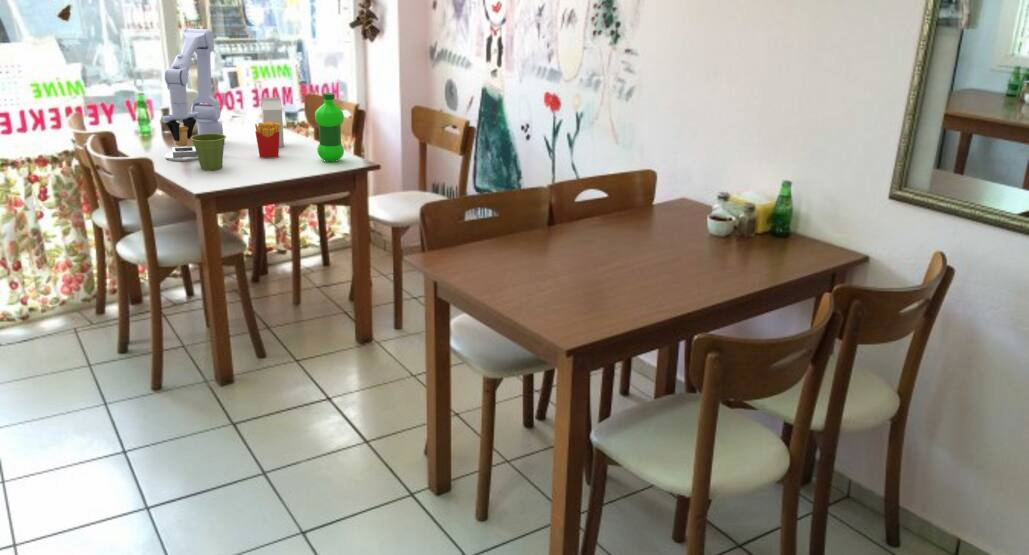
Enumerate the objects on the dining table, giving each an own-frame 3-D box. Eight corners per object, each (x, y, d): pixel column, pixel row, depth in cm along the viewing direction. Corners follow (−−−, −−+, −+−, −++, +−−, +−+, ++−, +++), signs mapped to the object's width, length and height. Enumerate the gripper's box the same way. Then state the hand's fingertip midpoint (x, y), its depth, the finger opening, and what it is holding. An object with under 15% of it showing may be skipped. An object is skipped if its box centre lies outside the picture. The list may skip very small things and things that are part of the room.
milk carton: (284, 147, 332) (281, 99, 325) (265, 147, 329) (262, 99, 322) (281, 143, 338) (279, 95, 331) (263, 143, 335) (260, 96, 328)
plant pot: (209, 162, 304) (206, 131, 300) (235, 166, 300) (233, 135, 296) (186, 169, 294) (182, 138, 290) (213, 174, 290) (210, 142, 286)
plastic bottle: (341, 156, 321) (339, 91, 312) (346, 163, 312) (344, 96, 303) (315, 157, 318) (312, 91, 309) (319, 164, 309) (316, 96, 300)
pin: (183, 142, 311) (183, 125, 308) (191, 145, 308) (191, 127, 306) (171, 143, 307) (171, 125, 305) (178, 146, 304) (178, 128, 302)
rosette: (219, 151, 320) (219, 142, 319) (223, 159, 309) (222, 150, 308) (165, 154, 313) (164, 145, 311) (166, 162, 302) (165, 153, 300)
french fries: (257, 158, 313) (254, 123, 309) (256, 155, 317) (254, 121, 312) (282, 157, 316) (280, 123, 311) (281, 154, 320) (279, 121, 315)
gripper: (188, 98, 310) (192, 134, 315) (154, 103, 298) (158, 140, 303) (201, 101, 306) (204, 137, 311) (167, 106, 295) (171, 143, 300)
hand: (182, 139), depth 307 cm, fingers closed on pin, 5 cm apart
